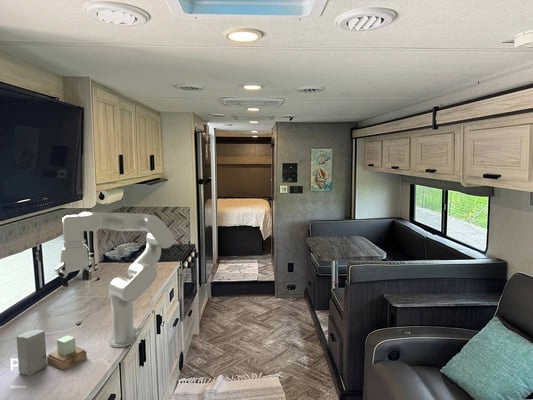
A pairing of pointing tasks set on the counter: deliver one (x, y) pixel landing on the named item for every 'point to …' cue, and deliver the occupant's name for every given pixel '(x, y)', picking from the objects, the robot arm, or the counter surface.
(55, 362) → the walnut pedestal
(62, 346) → the sage block
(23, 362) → the skincare box
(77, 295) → the counter surface
